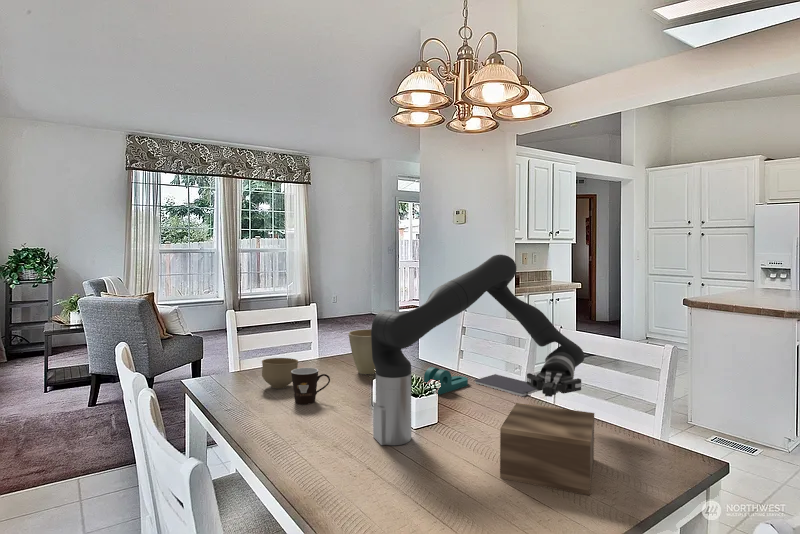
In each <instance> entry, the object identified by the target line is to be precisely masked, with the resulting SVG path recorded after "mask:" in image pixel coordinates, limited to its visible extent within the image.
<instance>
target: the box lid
mask: <svg viewBox="0 0 800 534" xmlns="http://www.w3.org/2000/svg"><path fill="white" fill-rule="evenodd" d="M593 423H594V424H595V412H589V411H582V410H575V409H567V408H559V407H549V406H544V405H543V406H542V405H538V404H537V405H535V404H528V403H519V402H516V403H515V404H514V406H513V408H511V410H510V413H508V415H507V417H506V418H505V420H504V422H503V423H502V424H501V426H500V427H499V429H500V431H499V432H501V433H508V434H514V435H520V436H527V437H533V438H539V439H546V440H552V441H558V442H565V443H571V444H577V445H584V446H590V445H591V438H592V431H593Z"/></svg>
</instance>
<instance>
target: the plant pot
mask: <svg viewBox="0 0 800 534" xmlns="http://www.w3.org/2000/svg"><path fill="white" fill-rule="evenodd" d="M348 340H349V346H350V351H351V355H352V358H353V361H354V364H355V367H356V370H357V371H358V372H359V373H358V374H360V375H364V374H370V375H374V374H373V373H375V370H374V369H375V365H374V363H373V359H372V343H371V328H369V329H367V328H365V329H355V330H351V331H348ZM375 374H376V373H375Z"/></svg>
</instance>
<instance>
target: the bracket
mask: <svg viewBox="0 0 800 534" xmlns="http://www.w3.org/2000/svg"><path fill="white" fill-rule="evenodd" d="M430 379H434V380H440V383H441V387H440V388H439V390H438V394H439V395H438V396H440V395H443V394H446V393H449V392H452V391H455V390H456V391H457V390H458V389H462V388H464V387H467V386H468V385H469V378H468V377H466V376H461V375H453V376H452V374H451V372H450V370H447V369H442V368H437V367H433V366H429V367H428V368H427V369H426V370H425V371H424V374H423V383H424V382H426V383H427V382H428V381H429V380H430Z"/></svg>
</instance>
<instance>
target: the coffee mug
mask: <svg viewBox="0 0 800 534" xmlns="http://www.w3.org/2000/svg"><path fill="white" fill-rule="evenodd" d="M291 374H292V382H291V383H292V389H293V396H294V403H295V405H296V404H297V405H301V406H302V405H303V406H306V405H310V404H311V405H312V404H314V403H315V402H316V397H317V394H318V393H319V392H321V391H323V390H324V389H325V388H326V387H327V386H329V384H330V382H331V377H330V376H329V375H328V374H326V373H321V374H319V369H318V368H316V367H297V369H294V370H292V371H291ZM321 377H326V378H327V379H328V382H327V383H326V384H325V385H324V386H323V387H320V388H319V389H318V382H319V380H320V379H321ZM317 389H318V390H317Z"/></svg>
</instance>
